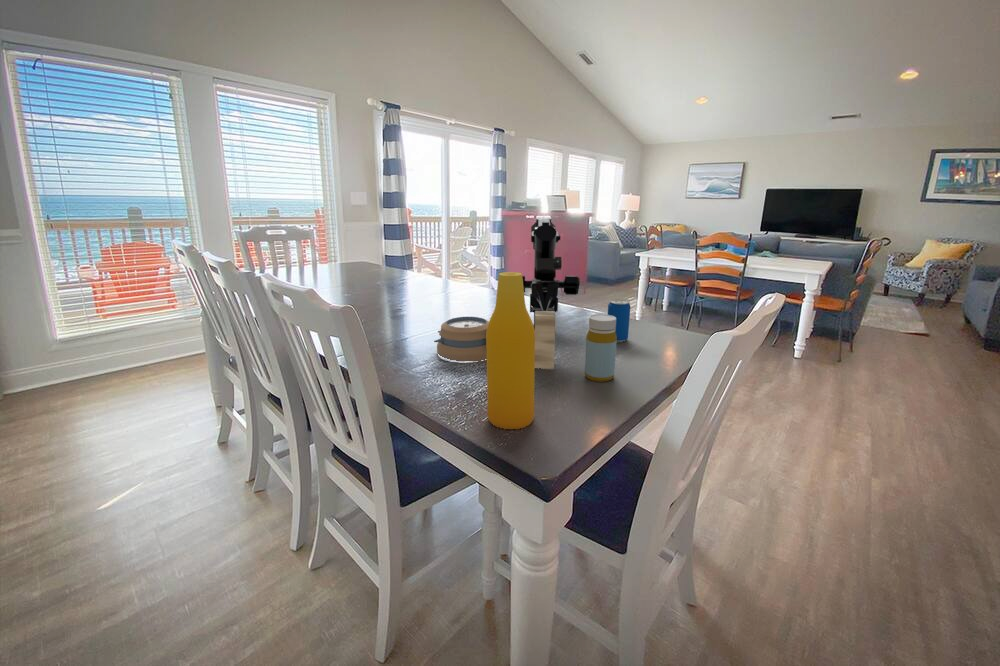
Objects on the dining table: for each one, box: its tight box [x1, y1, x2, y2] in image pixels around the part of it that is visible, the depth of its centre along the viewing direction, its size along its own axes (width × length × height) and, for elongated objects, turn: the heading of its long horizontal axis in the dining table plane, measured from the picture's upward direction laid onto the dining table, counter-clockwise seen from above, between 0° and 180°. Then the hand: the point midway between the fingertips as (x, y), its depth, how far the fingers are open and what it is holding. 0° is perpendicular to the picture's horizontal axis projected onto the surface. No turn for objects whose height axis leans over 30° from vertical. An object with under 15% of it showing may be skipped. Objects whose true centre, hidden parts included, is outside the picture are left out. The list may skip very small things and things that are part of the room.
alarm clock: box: [433, 316, 490, 361], centre depth 125 cm, size 17×9×23 cm
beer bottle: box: [486, 271, 536, 430], centre depth 84 cm, size 9×9×29 cm
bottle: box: [584, 313, 618, 383], centre depth 106 cm, size 7×7×15 cm
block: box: [535, 311, 556, 370], centre depth 114 cm, size 5×5×14 cm
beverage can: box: [607, 299, 631, 343], centre depth 134 cm, size 6×6×12 cm
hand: (544, 311), depth 119 cm, fingers closed
